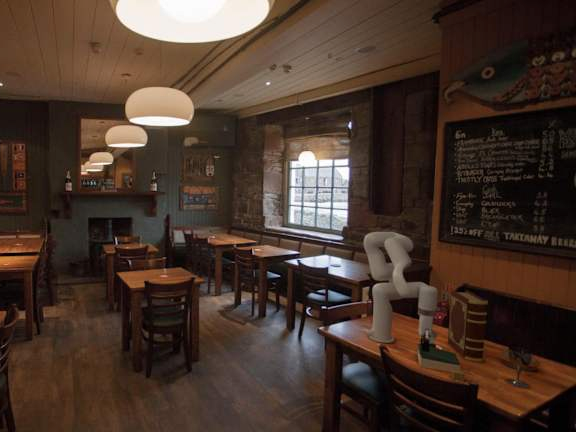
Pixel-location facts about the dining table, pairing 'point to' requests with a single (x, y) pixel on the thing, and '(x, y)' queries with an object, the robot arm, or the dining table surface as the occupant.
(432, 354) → the book cover
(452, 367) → the book
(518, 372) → the wine glass
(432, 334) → the grey black upright piece
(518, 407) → the dining table surface
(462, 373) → the paperweight
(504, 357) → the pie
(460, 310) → the decorative book
